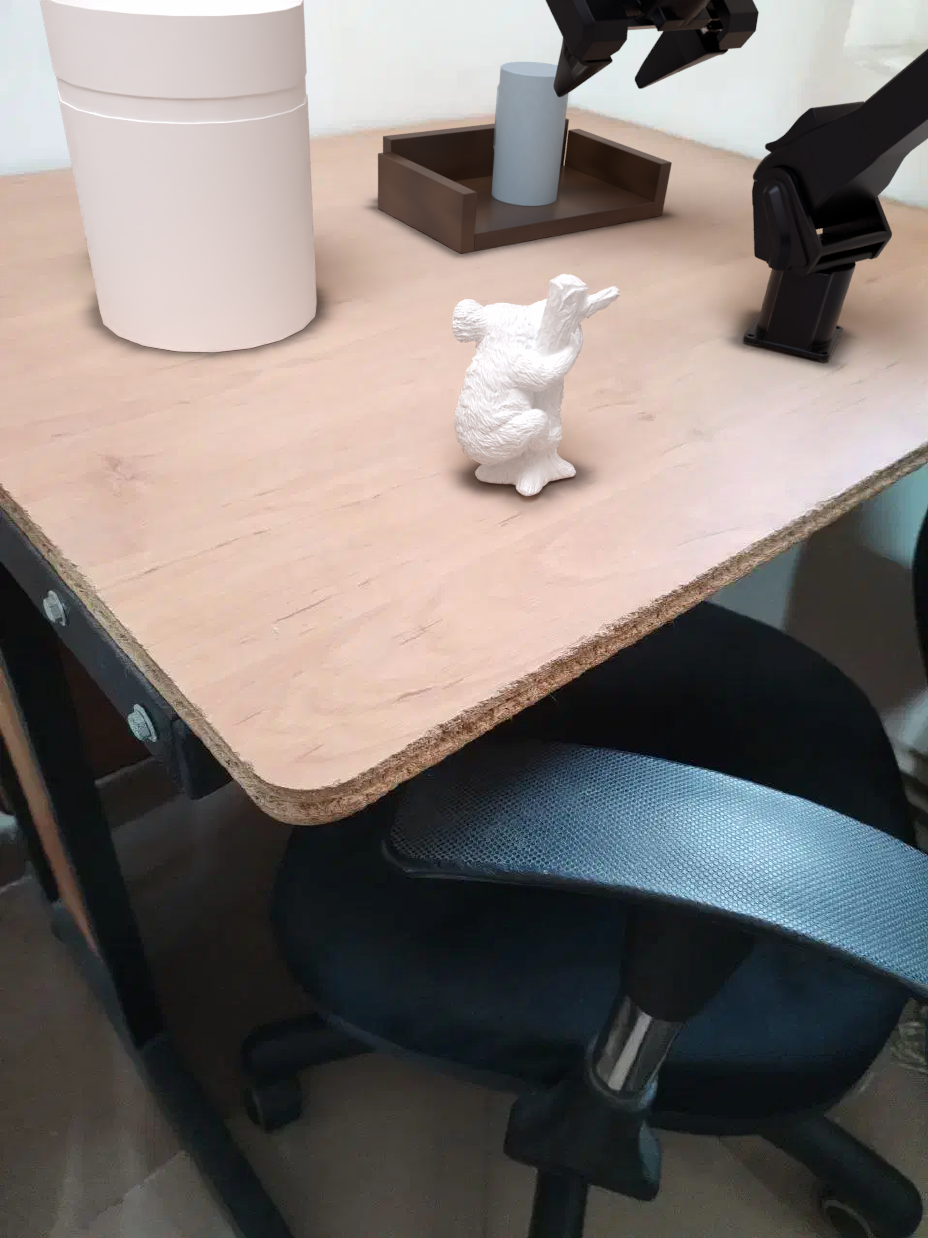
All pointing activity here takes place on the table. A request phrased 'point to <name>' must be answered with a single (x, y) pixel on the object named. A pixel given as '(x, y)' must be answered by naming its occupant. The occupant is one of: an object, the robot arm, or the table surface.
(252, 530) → the table surface
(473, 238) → the tray
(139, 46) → the canister
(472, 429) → the koala figurine
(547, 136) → the pale blue cylinder
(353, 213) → the table surface
